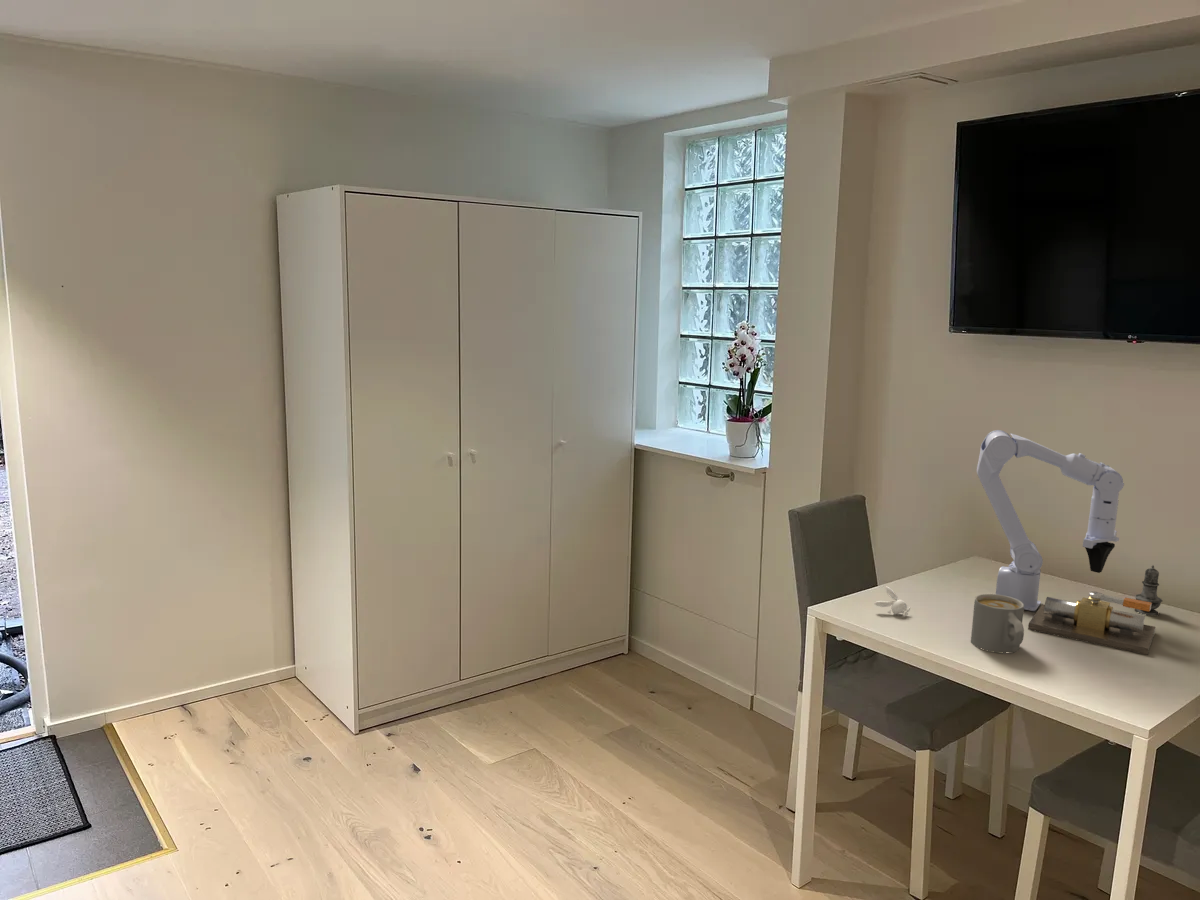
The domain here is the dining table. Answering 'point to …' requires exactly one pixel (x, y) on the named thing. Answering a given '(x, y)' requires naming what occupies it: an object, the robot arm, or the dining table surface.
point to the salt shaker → (1150, 591)
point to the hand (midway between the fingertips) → (1096, 571)
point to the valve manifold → (1094, 624)
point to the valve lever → (1121, 601)
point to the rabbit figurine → (894, 603)
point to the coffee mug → (997, 623)
